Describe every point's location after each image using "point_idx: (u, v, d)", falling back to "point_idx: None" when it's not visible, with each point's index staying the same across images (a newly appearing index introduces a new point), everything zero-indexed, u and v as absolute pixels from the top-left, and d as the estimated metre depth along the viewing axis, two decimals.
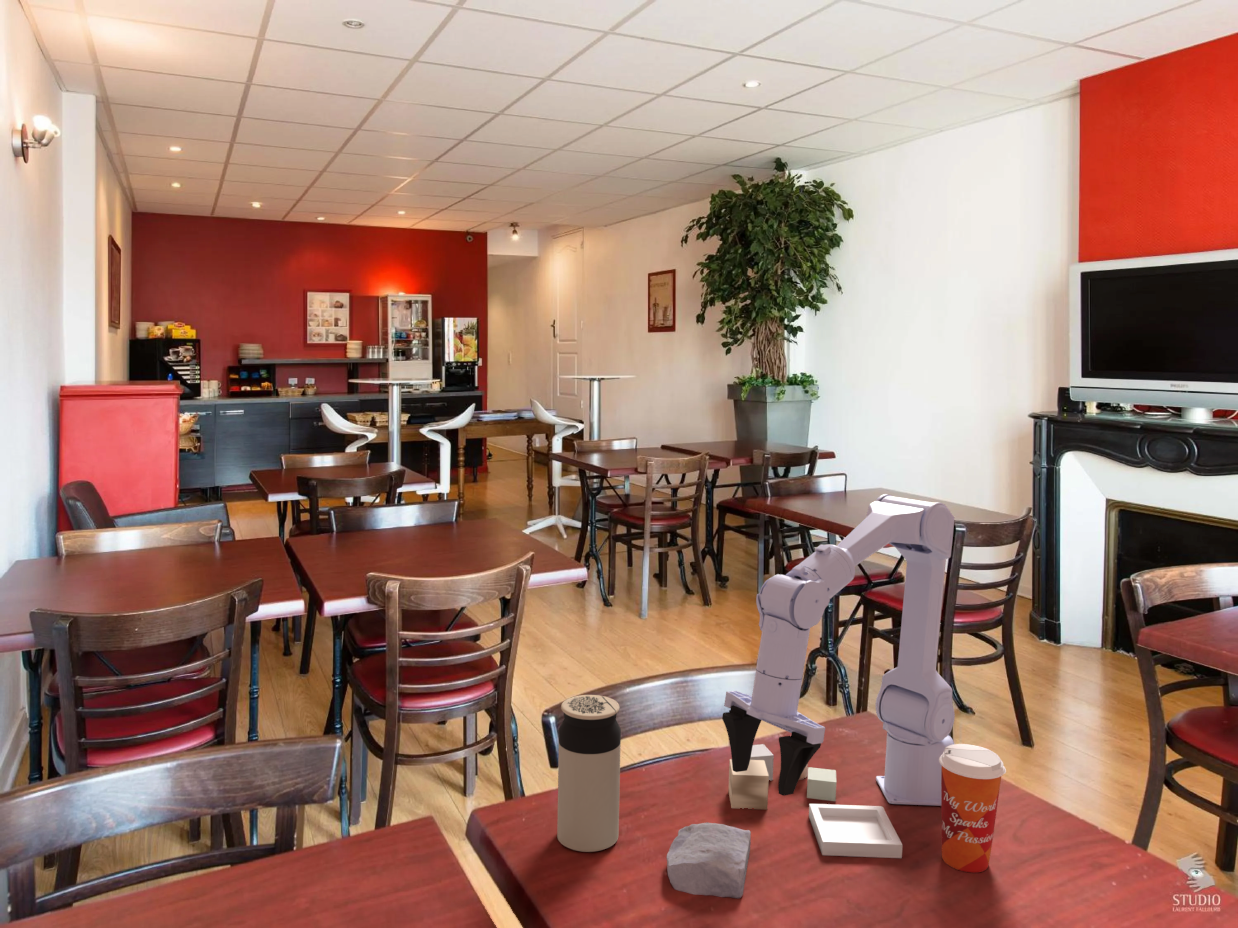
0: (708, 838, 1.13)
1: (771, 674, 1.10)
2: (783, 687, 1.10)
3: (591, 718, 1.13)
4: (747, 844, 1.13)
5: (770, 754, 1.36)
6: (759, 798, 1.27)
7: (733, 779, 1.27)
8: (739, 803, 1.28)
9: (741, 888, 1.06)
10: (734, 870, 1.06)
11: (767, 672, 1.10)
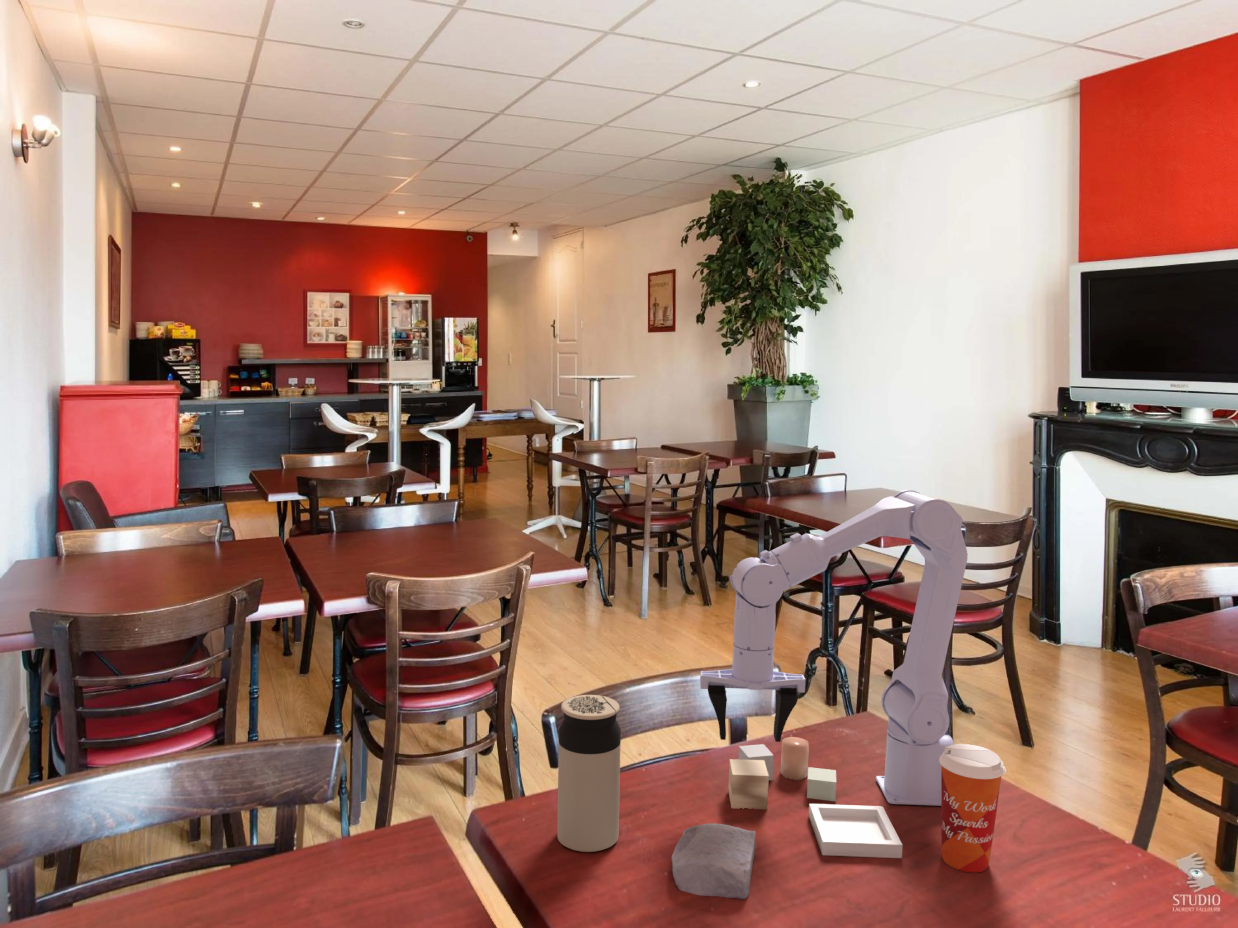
0: (713, 839, 1.13)
1: (737, 645, 1.26)
2: (771, 656, 1.26)
3: (591, 718, 1.13)
4: (752, 845, 1.13)
5: (770, 754, 1.36)
6: (759, 798, 1.27)
7: (733, 779, 1.27)
8: (739, 803, 1.28)
9: (747, 889, 1.06)
10: (739, 870, 1.06)
11: (735, 643, 1.26)
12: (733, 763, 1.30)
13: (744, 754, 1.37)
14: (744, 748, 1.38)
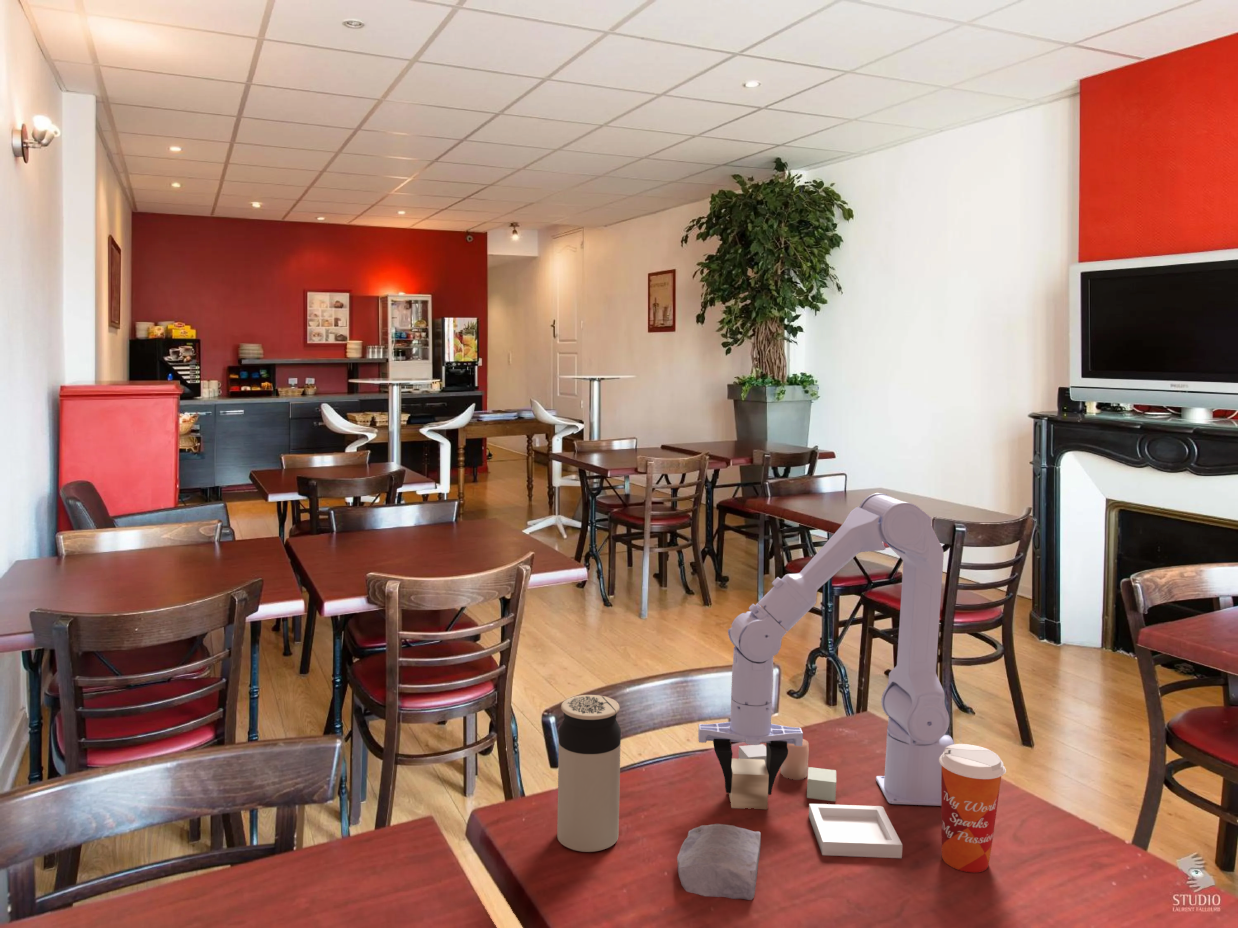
0: (719, 840, 1.13)
1: (735, 700, 1.27)
2: (769, 710, 1.27)
3: (591, 717, 1.13)
4: (758, 845, 1.13)
5: None
6: (759, 798, 1.27)
7: (733, 778, 1.27)
8: (739, 802, 1.28)
9: (753, 890, 1.06)
10: (746, 871, 1.06)
11: (733, 698, 1.27)
12: (733, 763, 1.30)
13: (744, 754, 1.37)
14: (744, 748, 1.38)
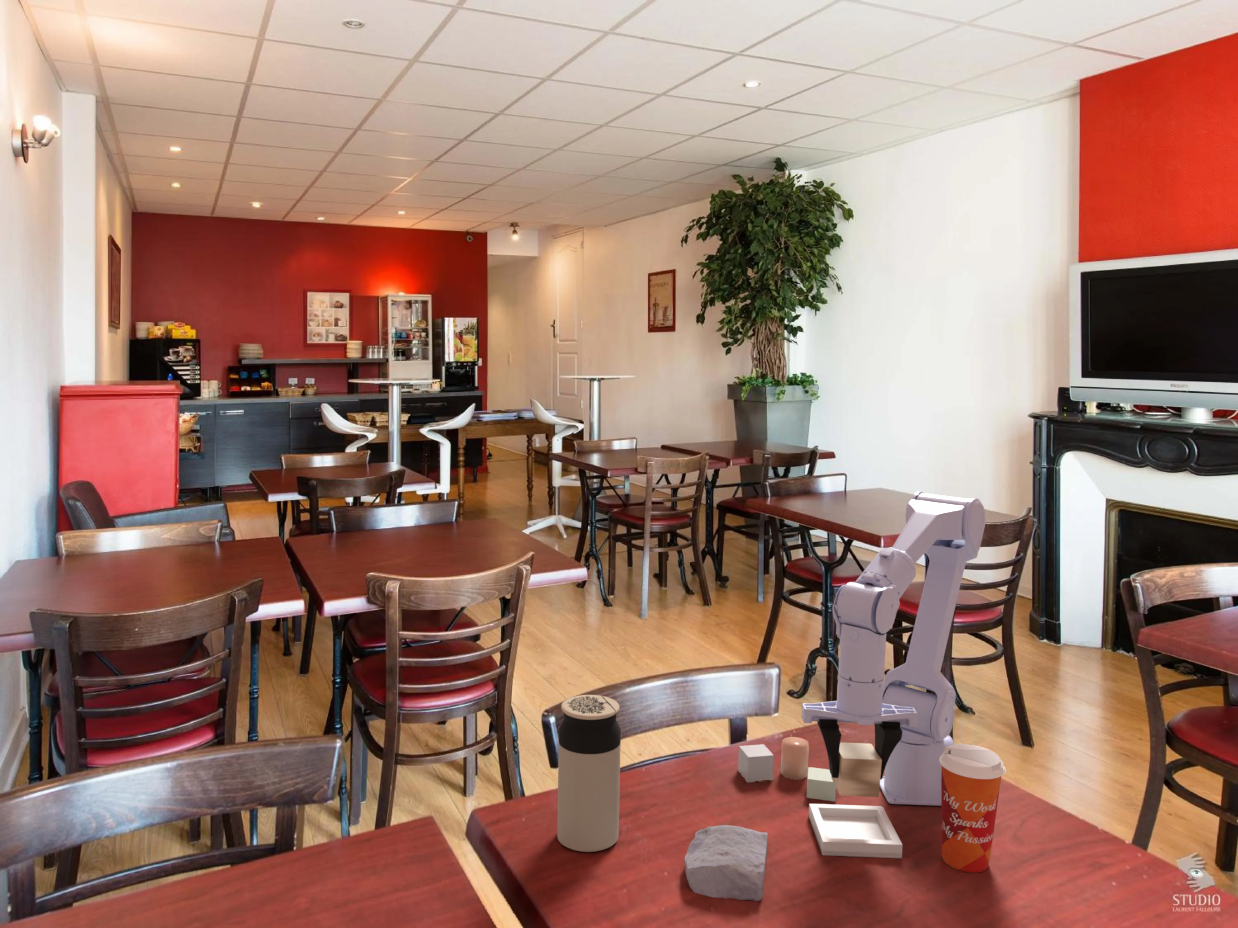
0: (726, 841, 1.13)
1: (858, 680, 1.16)
2: (881, 688, 1.17)
3: (591, 718, 1.13)
4: (765, 846, 1.12)
5: (770, 754, 1.36)
6: (870, 785, 1.17)
7: (843, 763, 1.17)
8: (849, 789, 1.17)
9: (761, 891, 1.06)
10: (754, 872, 1.06)
11: (854, 679, 1.16)
12: (840, 747, 1.20)
13: (744, 754, 1.37)
14: (744, 748, 1.38)
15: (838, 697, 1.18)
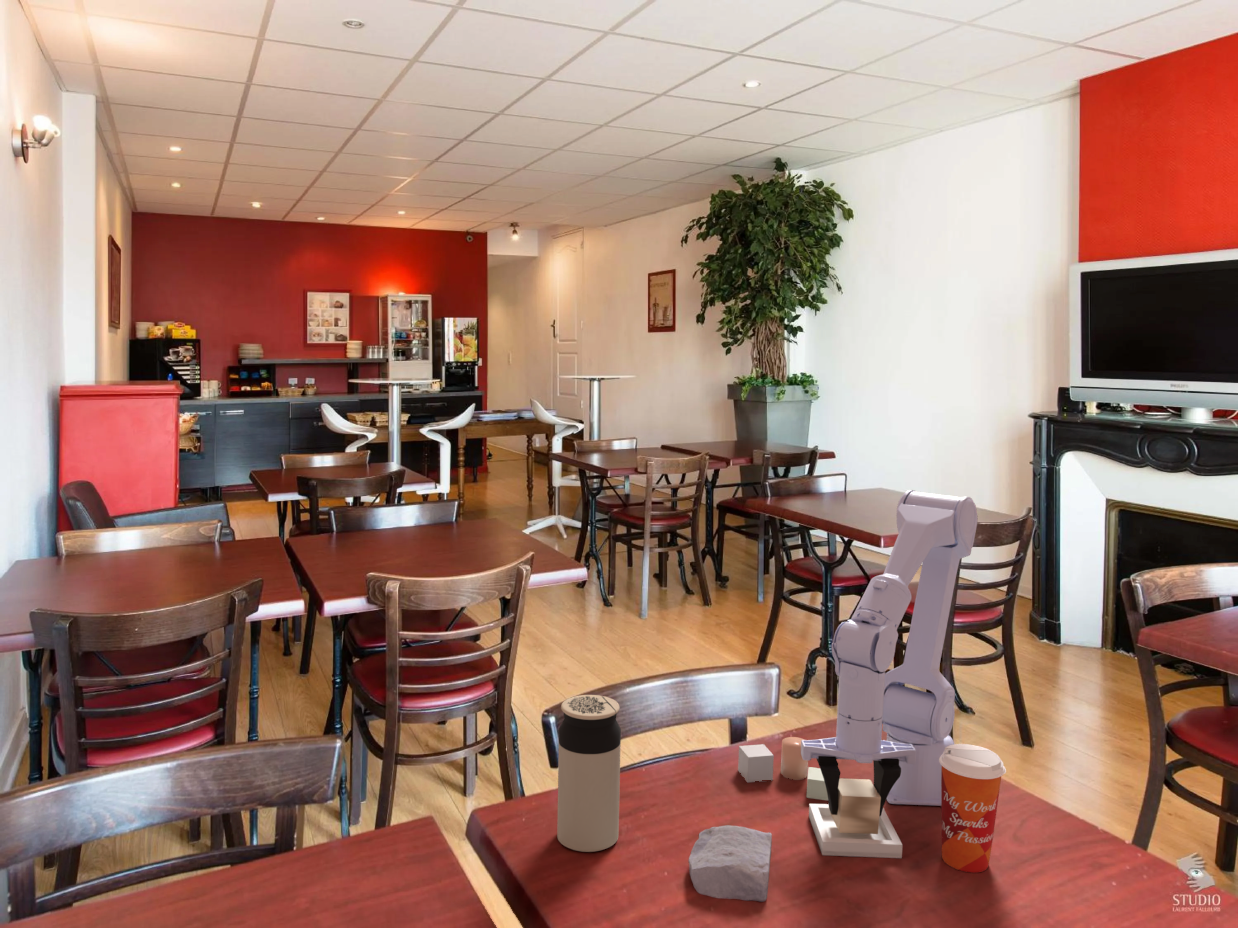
0: (730, 841, 1.13)
1: (857, 718, 1.16)
2: (880, 725, 1.17)
3: (591, 718, 1.13)
4: (769, 847, 1.12)
5: (770, 754, 1.36)
6: (869, 822, 1.18)
7: (842, 801, 1.18)
8: (848, 827, 1.18)
9: (765, 891, 1.06)
10: (758, 873, 1.06)
11: (853, 717, 1.16)
12: (839, 783, 1.21)
13: (744, 754, 1.37)
14: (744, 748, 1.38)
15: (837, 734, 1.19)
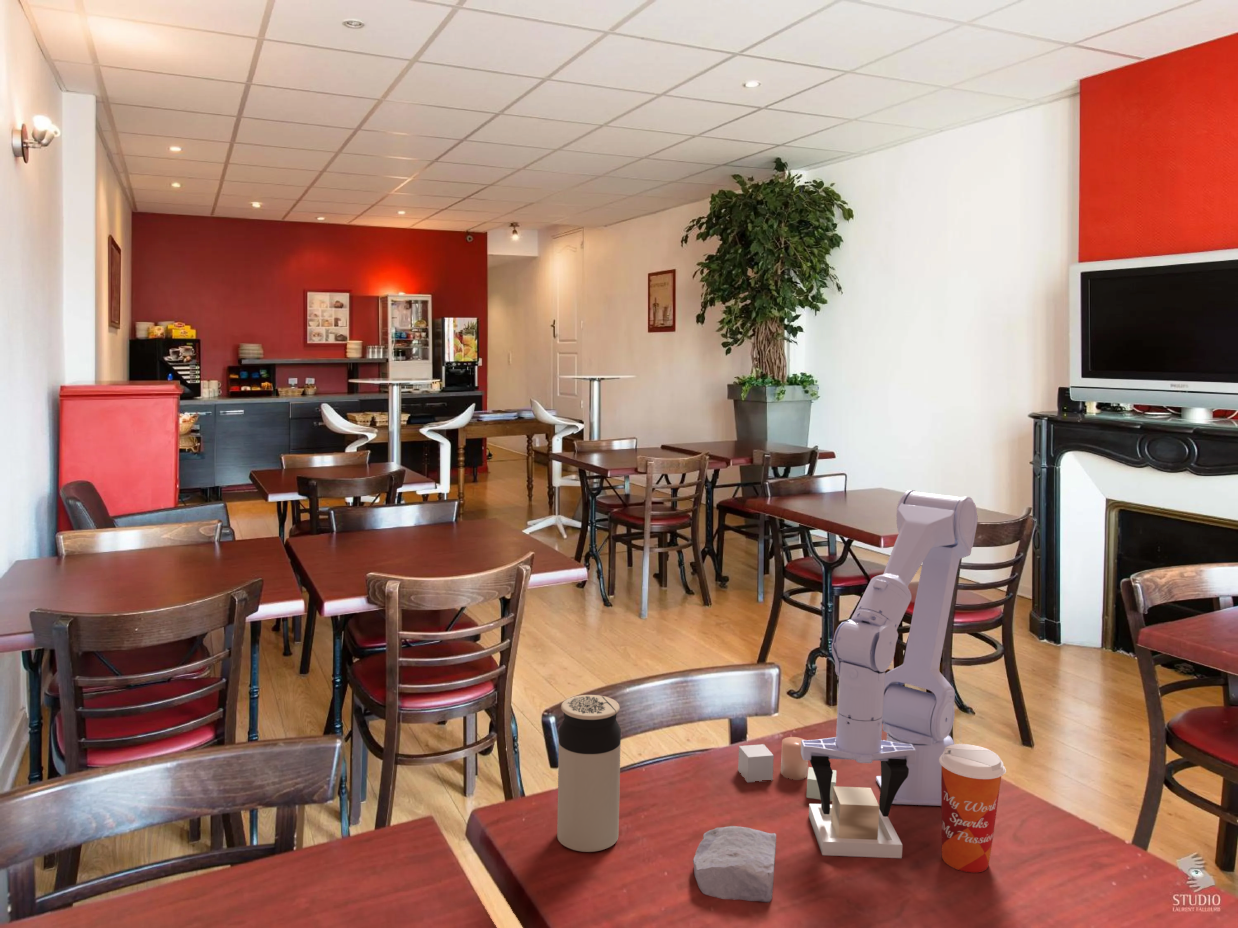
0: (735, 842, 1.13)
1: (857, 718, 1.16)
2: (880, 725, 1.17)
3: (591, 717, 1.13)
4: (774, 847, 1.12)
5: (770, 754, 1.36)
6: (868, 830, 1.18)
7: (841, 809, 1.18)
8: (847, 835, 1.18)
9: (770, 892, 1.05)
10: (763, 873, 1.05)
11: (853, 717, 1.16)
12: (838, 791, 1.21)
13: (744, 754, 1.37)
14: (744, 748, 1.38)
15: (837, 734, 1.19)
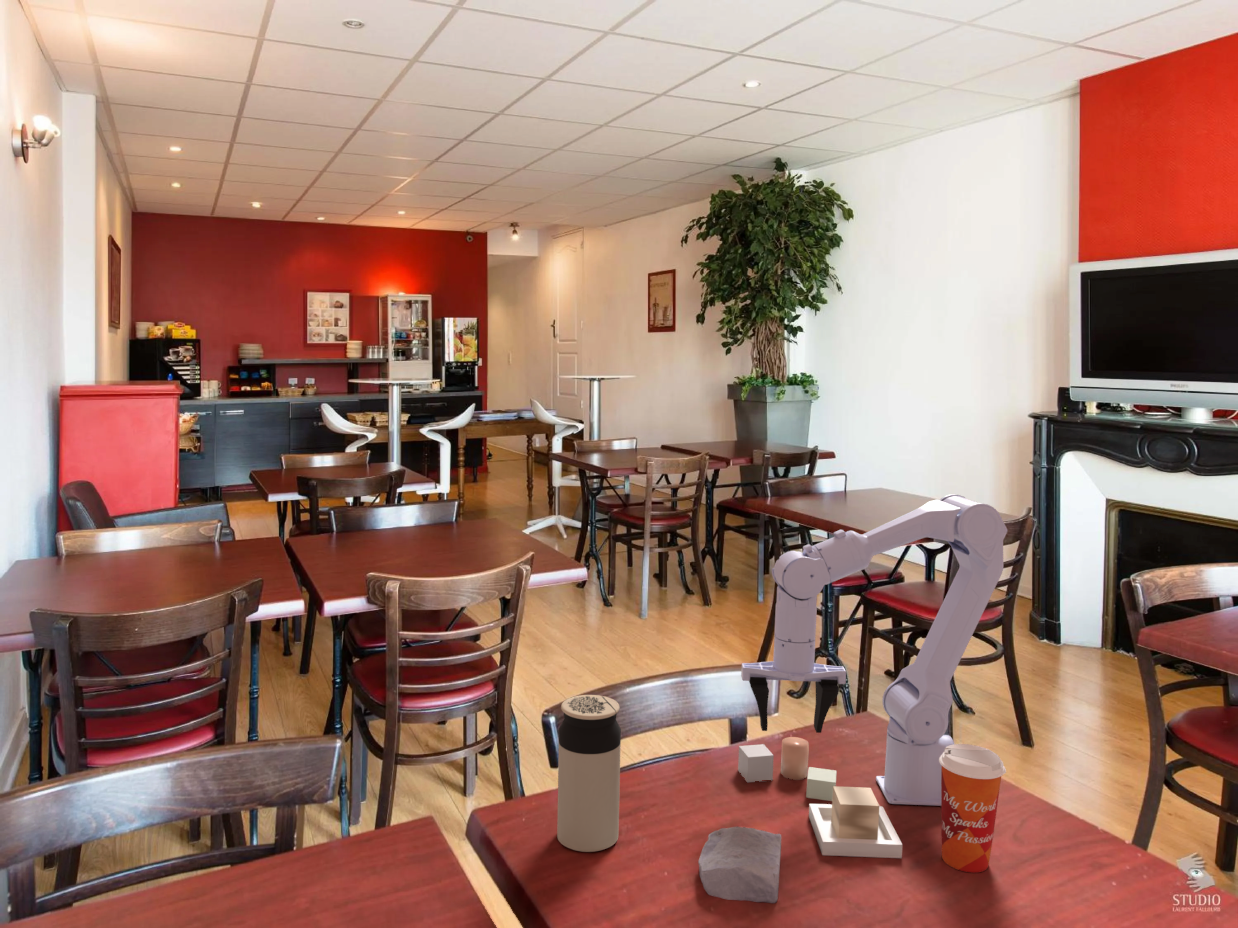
0: (740, 843, 1.12)
1: (778, 637, 1.28)
2: (812, 648, 1.28)
3: (591, 718, 1.13)
4: (779, 848, 1.12)
5: (770, 754, 1.36)
6: (868, 830, 1.18)
7: (841, 809, 1.18)
8: (847, 835, 1.18)
9: (776, 893, 1.05)
10: (769, 874, 1.05)
11: (776, 635, 1.28)
12: (838, 791, 1.21)
13: (744, 754, 1.37)
14: (744, 748, 1.38)
15: (774, 657, 1.29)
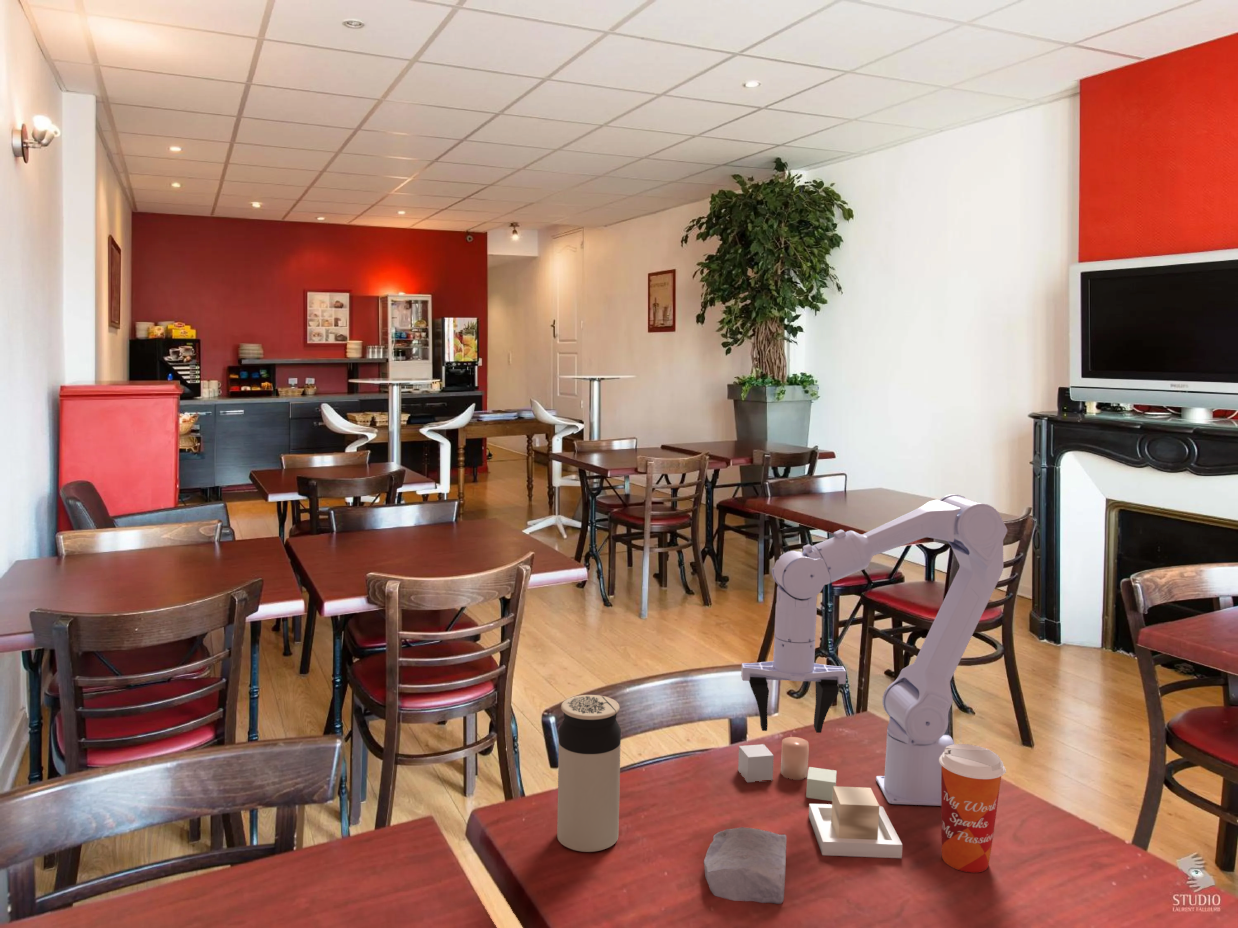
0: (745, 843, 1.12)
1: (778, 637, 1.28)
2: (812, 648, 1.28)
3: (591, 717, 1.13)
4: (784, 849, 1.12)
5: (770, 754, 1.36)
6: (868, 830, 1.18)
7: (841, 809, 1.18)
8: (847, 835, 1.18)
9: (782, 893, 1.05)
10: (775, 875, 1.05)
11: (776, 635, 1.28)
12: (838, 791, 1.21)
13: (744, 754, 1.37)
14: (744, 748, 1.38)
15: (774, 657, 1.29)
